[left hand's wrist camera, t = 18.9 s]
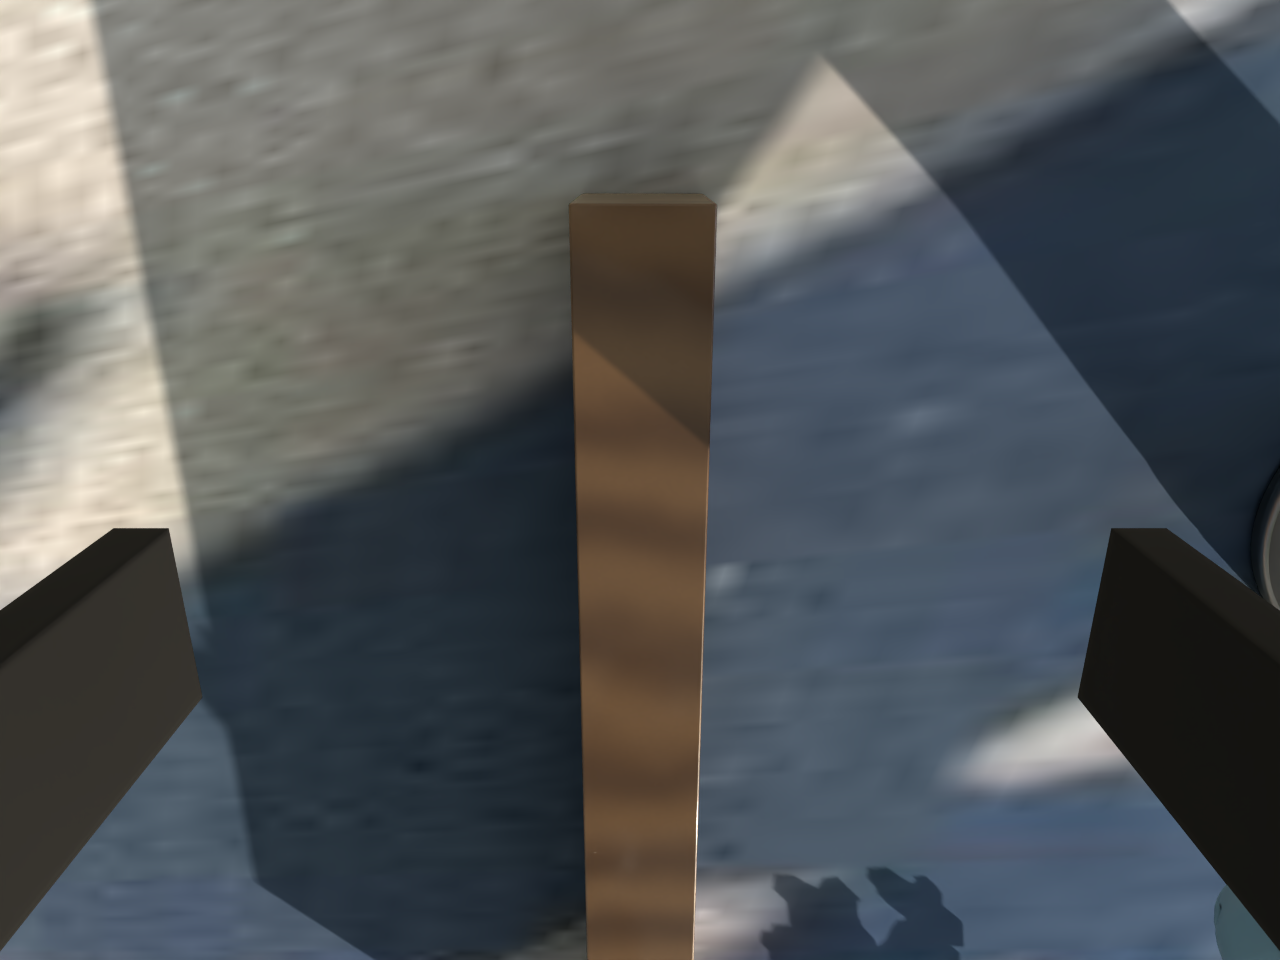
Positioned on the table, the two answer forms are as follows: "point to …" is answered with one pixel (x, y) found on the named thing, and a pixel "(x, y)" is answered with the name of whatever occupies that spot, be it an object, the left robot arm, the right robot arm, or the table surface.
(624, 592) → the bar
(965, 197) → the table surface
